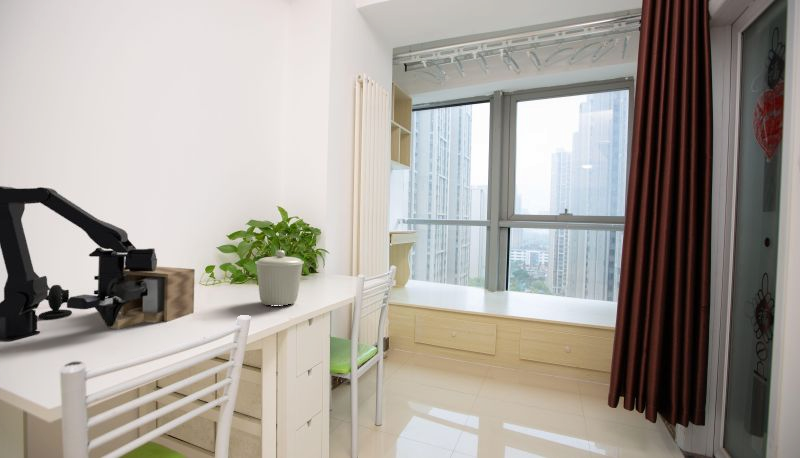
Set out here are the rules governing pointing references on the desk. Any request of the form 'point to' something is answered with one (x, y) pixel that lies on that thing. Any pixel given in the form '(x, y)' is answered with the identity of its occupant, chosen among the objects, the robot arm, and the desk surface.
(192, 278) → the wooden open box
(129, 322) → the wooden tray with handle
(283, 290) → the canister
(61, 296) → the webcam
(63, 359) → the desk surface
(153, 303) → the skincare box
